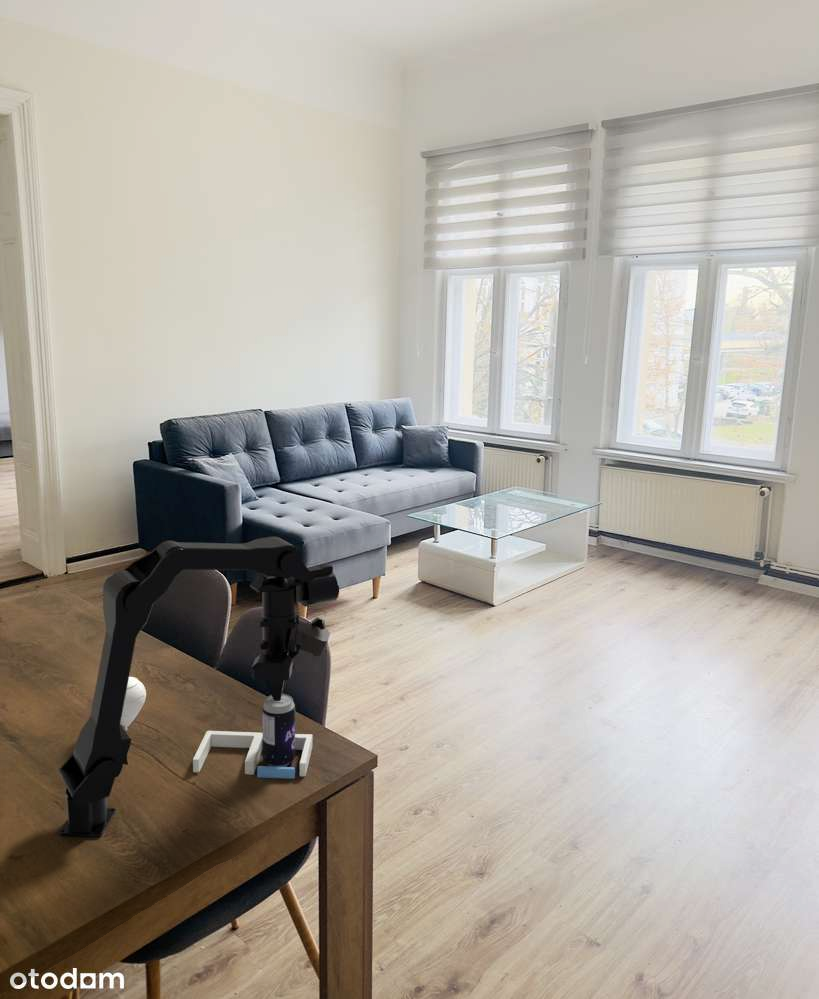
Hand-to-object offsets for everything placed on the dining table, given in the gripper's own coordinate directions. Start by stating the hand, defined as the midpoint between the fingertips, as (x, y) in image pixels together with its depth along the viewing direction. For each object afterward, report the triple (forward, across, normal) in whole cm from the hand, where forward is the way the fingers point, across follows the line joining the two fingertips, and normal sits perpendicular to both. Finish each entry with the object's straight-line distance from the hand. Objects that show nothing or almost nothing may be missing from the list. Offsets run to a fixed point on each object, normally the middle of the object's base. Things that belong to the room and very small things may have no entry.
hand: (279, 694), depth 139 cm
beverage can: (+13, 0, 0) cm, 13 cm away
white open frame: (+13, 0, +4) cm, 14 cm away
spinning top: (+13, +8, +30) cm, 34 cm away
